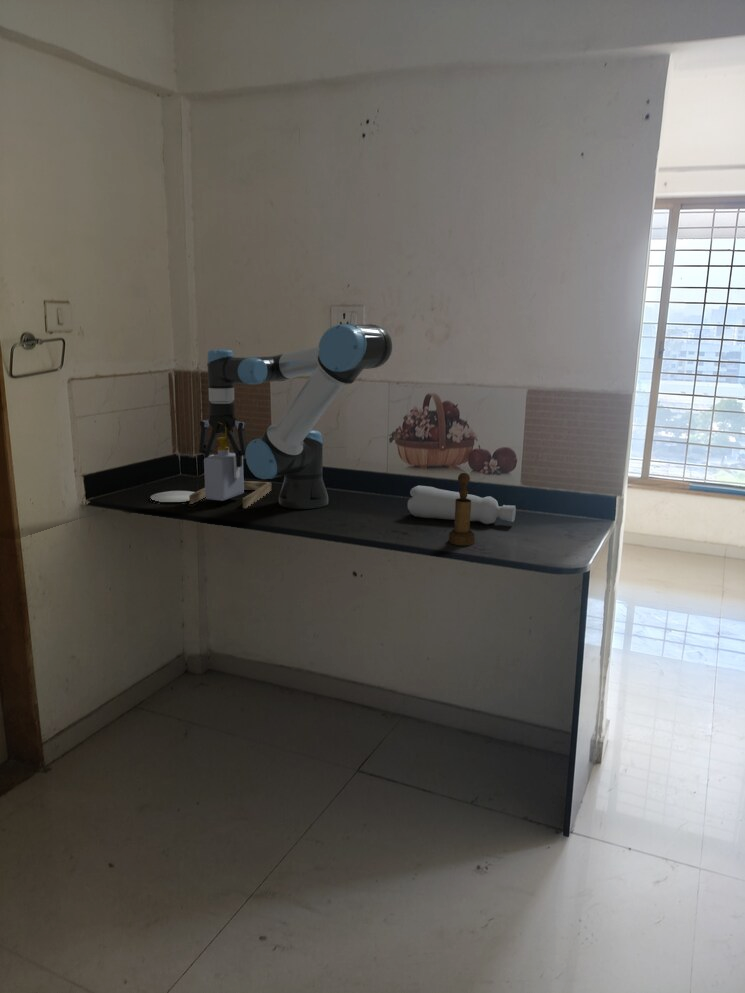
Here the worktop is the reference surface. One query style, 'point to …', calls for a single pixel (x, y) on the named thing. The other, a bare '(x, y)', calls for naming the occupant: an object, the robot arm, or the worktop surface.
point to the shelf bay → (259, 488)
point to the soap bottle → (222, 473)
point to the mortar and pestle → (462, 516)
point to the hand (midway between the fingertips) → (224, 476)
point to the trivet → (172, 496)
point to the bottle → (443, 505)
